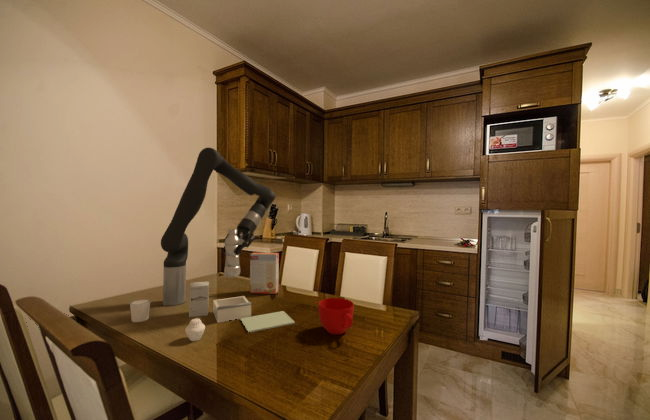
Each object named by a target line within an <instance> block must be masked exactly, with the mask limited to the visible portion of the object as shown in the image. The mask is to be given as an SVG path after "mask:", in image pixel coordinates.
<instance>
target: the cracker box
mask: <svg viewBox="0 0 650 420" xmlns="http://www.w3.org/2000/svg"><path fill="white" fill-rule="evenodd" d="M279 254H280V253H279V252H252V253H250V254H249V255H250V257H249V259H250V260H249V261H250V262H249V263H250V264H249V267H250V268H249V293H250V294H265V295H266V294H267V295H268V294H269V295H276V294H277V293H278V292H279V280H280V279H279V278H280V277H279V275H280V272H279V270H280V269H279V268H280V266H279V264H280V263H279V261H280V259H279V258H280V255H279Z"/></svg>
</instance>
